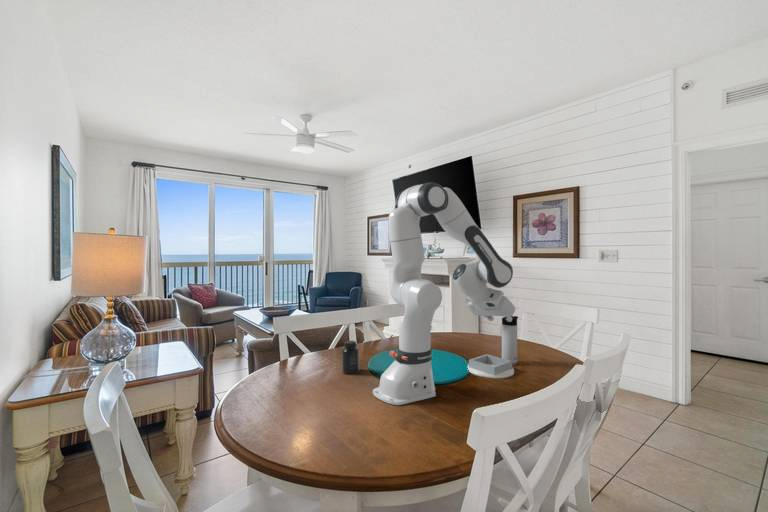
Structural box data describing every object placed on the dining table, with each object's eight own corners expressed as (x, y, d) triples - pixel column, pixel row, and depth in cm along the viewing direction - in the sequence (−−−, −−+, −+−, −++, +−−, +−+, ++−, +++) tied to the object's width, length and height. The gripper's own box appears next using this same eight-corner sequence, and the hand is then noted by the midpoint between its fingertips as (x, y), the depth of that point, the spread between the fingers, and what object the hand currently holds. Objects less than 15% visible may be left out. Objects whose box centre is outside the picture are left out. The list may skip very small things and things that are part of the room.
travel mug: (520, 365, 149) (520, 317, 148) (504, 365, 149) (504, 317, 149) (515, 360, 155) (515, 315, 155) (499, 360, 155) (499, 315, 155)
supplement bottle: (360, 369, 146) (360, 339, 146) (357, 374, 140) (357, 344, 139) (343, 368, 147) (343, 339, 147) (340, 374, 140) (339, 344, 140)
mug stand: (496, 382, 131) (496, 371, 131) (458, 369, 145) (458, 359, 145) (523, 371, 142) (523, 361, 142) (484, 360, 156) (484, 351, 156)
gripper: (459, 303, 149) (478, 325, 154) (498, 303, 132) (518, 327, 136) (466, 292, 152) (484, 313, 156) (505, 290, 135) (524, 314, 139)
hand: (500, 320), depth 146 cm, fingers open, 8 cm apart
